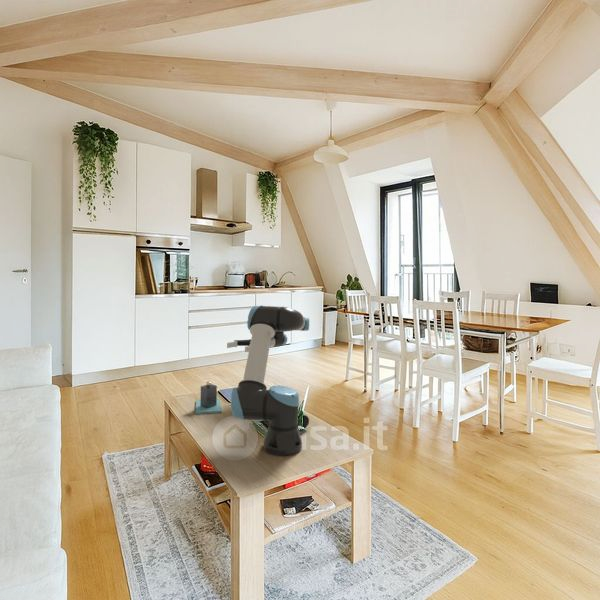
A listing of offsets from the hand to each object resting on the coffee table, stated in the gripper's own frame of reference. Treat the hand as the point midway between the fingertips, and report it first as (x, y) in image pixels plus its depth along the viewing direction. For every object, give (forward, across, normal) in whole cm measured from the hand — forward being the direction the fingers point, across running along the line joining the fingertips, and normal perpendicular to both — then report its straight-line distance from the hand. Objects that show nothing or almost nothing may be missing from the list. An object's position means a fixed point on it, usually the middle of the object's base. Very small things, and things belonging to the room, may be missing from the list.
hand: (236, 347), depth 189 cm
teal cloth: (+11, +7, -30) cm, 33 cm away
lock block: (+12, +6, -29) cm, 32 cm away
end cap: (0, -40, -30) cm, 51 cm away
